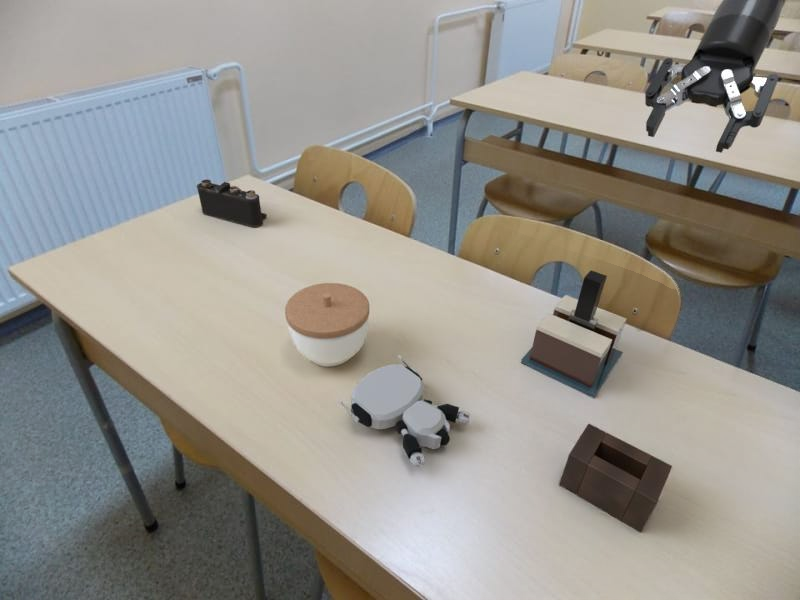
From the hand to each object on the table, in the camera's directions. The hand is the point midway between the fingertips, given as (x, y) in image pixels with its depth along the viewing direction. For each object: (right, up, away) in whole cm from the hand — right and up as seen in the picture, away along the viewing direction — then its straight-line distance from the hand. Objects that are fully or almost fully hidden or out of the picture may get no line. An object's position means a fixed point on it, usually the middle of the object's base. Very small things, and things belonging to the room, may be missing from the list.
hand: (684, 141), depth 67 cm
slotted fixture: (-10, -30, +15) cm, 35 cm away
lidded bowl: (-48, -29, +16) cm, 58 cm away
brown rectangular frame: (-12, -44, -4) cm, 46 cm away
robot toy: (-36, -38, +4) cm, 53 cm away
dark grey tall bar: (-10, -30, +15) cm, 34 cm away
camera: (-75, -1, +53) cm, 92 cm away
